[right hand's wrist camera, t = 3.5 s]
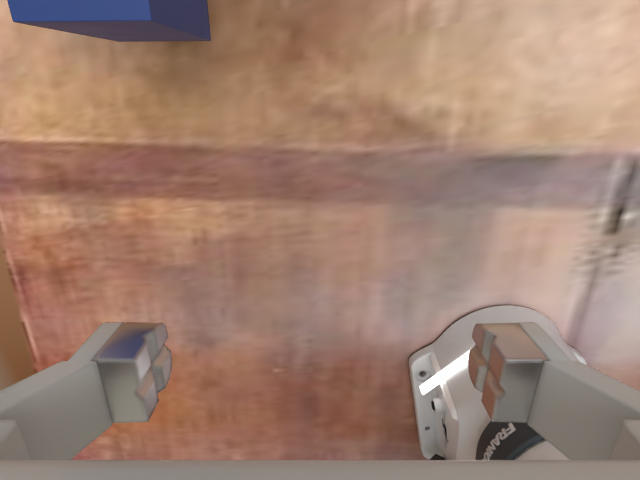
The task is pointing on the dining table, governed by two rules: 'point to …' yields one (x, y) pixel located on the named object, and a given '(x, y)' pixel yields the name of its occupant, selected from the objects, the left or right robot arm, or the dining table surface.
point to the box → (119, 18)
